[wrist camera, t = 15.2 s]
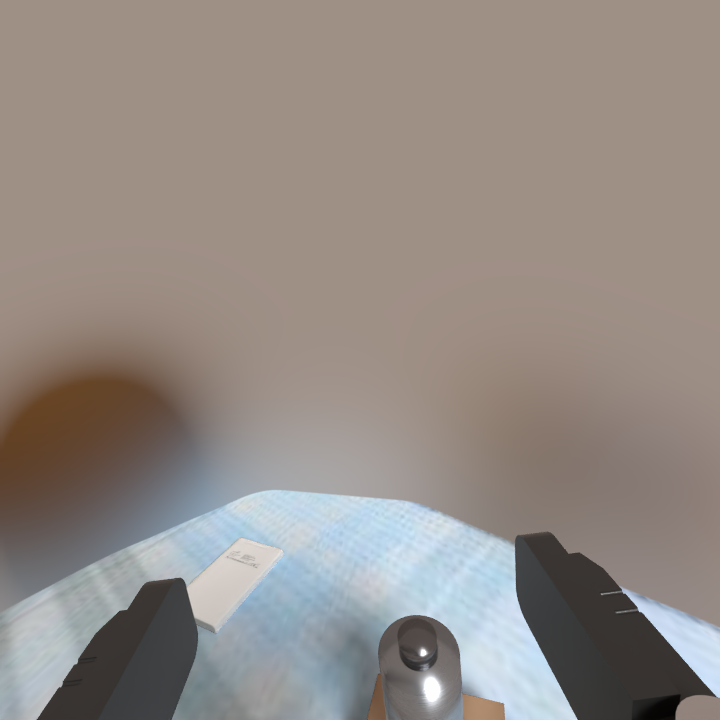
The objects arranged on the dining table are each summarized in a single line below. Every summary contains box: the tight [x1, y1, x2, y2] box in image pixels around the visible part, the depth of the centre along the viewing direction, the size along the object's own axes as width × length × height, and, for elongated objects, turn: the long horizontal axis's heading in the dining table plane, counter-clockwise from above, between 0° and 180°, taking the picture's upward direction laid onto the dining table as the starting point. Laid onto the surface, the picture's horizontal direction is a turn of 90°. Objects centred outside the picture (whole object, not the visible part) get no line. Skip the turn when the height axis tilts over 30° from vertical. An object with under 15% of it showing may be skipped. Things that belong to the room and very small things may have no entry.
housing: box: [378, 615, 464, 720], centre depth 24 cm, size 6×6×11 cm
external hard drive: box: [186, 538, 284, 634], centre depth 49 cm, size 2×8×12 cm
